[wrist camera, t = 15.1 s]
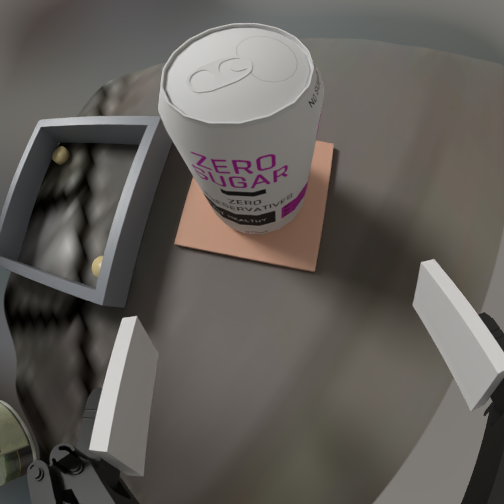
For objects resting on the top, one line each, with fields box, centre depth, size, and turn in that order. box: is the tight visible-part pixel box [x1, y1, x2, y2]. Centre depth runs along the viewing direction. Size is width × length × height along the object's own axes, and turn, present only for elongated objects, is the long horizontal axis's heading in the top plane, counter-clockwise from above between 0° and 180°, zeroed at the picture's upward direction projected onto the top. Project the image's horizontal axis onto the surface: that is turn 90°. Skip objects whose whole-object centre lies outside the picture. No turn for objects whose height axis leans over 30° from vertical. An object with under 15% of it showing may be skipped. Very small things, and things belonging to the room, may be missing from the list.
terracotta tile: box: [174, 141, 334, 272], centre depth 27 cm, size 12×12×1 cm
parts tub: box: [0, 116, 173, 308], centre depth 27 cm, size 17×17×4 cm
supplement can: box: [158, 23, 325, 234], centre depth 20 cm, size 8×8×15 cm
